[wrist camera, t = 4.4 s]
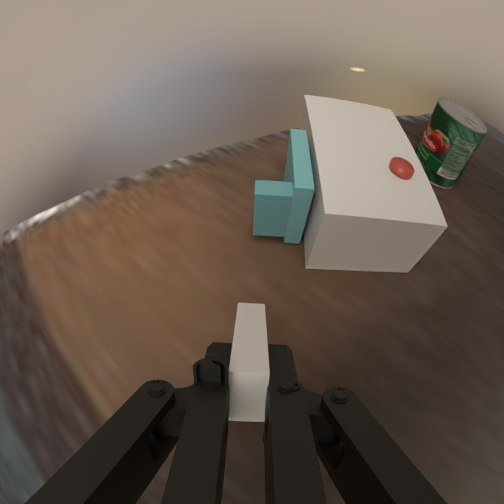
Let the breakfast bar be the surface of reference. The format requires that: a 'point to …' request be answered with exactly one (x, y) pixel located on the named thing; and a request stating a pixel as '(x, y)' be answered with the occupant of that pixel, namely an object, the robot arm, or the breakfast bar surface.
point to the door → (286, 194)
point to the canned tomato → (449, 142)
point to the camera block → (365, 190)
